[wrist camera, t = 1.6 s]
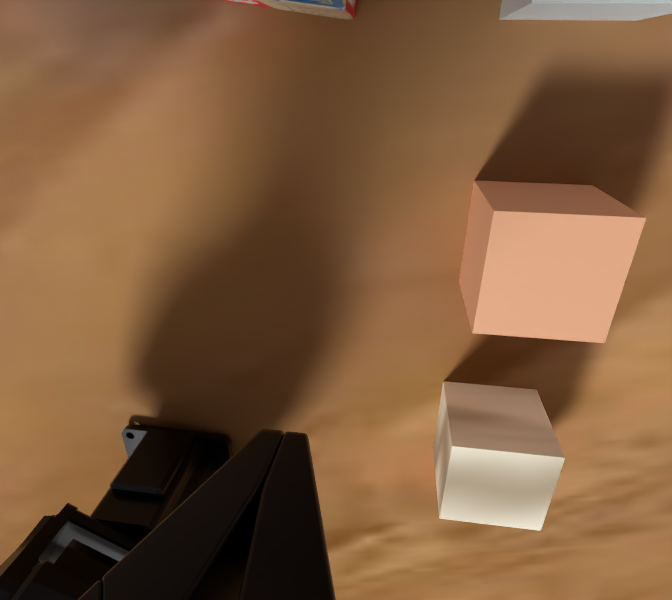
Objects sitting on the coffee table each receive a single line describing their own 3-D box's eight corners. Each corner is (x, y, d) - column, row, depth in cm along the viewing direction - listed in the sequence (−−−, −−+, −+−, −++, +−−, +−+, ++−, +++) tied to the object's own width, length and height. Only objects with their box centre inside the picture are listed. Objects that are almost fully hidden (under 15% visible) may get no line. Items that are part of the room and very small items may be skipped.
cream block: (517, 455, 24) (540, 530, 20) (433, 446, 25) (439, 518, 21) (536, 388, 22) (565, 458, 18) (443, 380, 23) (451, 446, 19)
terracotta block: (563, 288, 20) (604, 343, 16) (458, 281, 20) (472, 333, 16) (591, 184, 18) (646, 217, 14) (473, 180, 18) (494, 210, 14)
